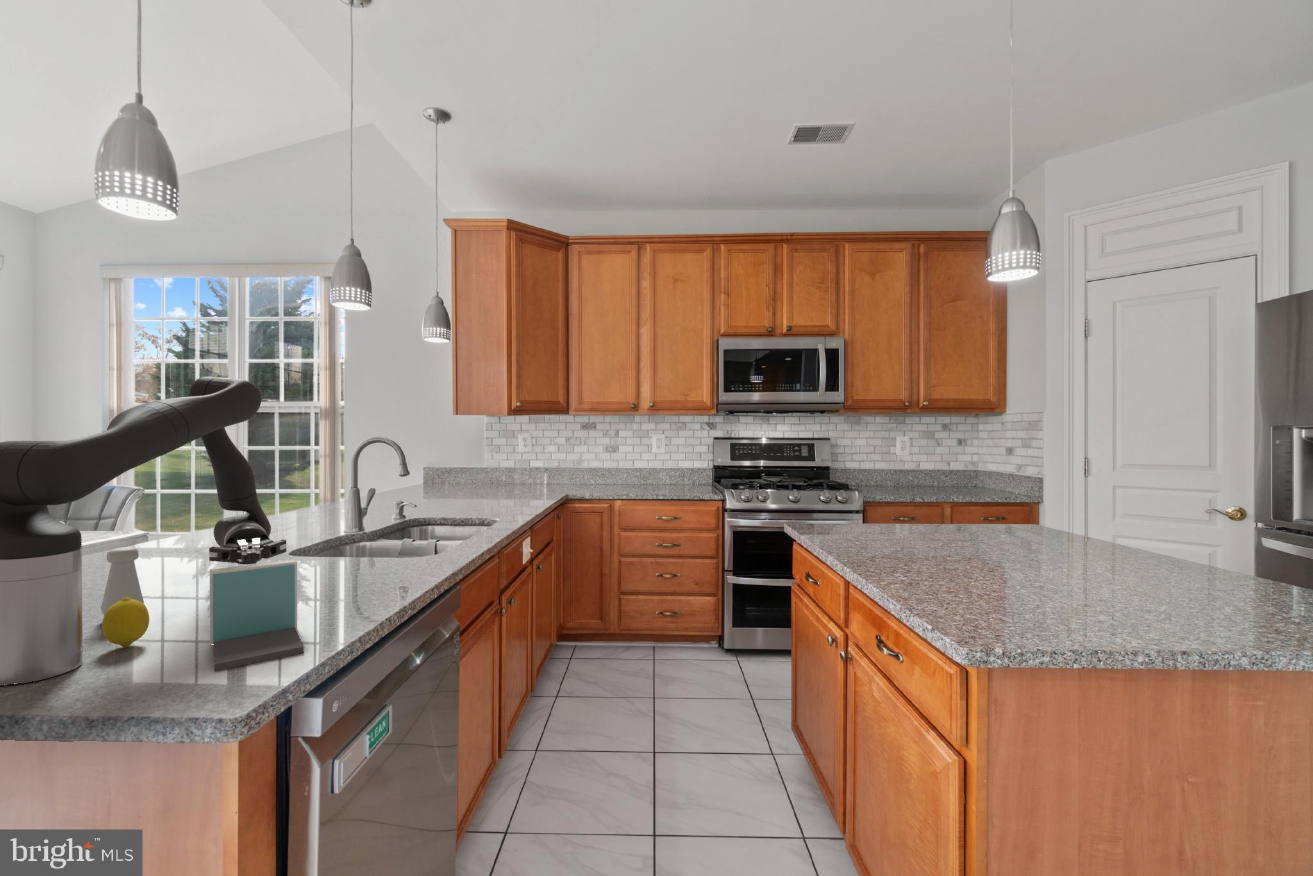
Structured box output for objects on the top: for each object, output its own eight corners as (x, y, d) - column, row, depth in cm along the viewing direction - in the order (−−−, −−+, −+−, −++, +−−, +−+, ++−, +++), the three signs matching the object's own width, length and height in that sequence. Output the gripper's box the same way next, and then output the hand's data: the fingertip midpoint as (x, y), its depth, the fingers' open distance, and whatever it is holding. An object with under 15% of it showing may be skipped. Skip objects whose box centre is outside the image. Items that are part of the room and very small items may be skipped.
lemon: (120, 655, 87) (120, 603, 87) (92, 652, 89) (92, 601, 88) (158, 642, 93) (158, 593, 93) (131, 639, 94) (131, 591, 94)
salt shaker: (135, 621, 103) (134, 550, 103) (94, 625, 101) (93, 552, 100) (149, 612, 108) (149, 544, 108) (111, 615, 106) (111, 546, 106)
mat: (214, 671, 82) (214, 664, 82) (214, 648, 91) (214, 641, 91) (303, 652, 89) (303, 646, 89) (295, 632, 97) (295, 627, 97)
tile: (210, 646, 91) (209, 572, 91) (209, 642, 93) (209, 569, 93) (297, 630, 99) (297, 562, 99) (295, 626, 101) (295, 559, 100)
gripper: (205, 528, 114) (205, 543, 100) (284, 521, 122) (294, 534, 108) (206, 565, 114) (206, 585, 100) (284, 555, 122) (294, 572, 108)
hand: (251, 558), depth 104 cm, fingers closed
